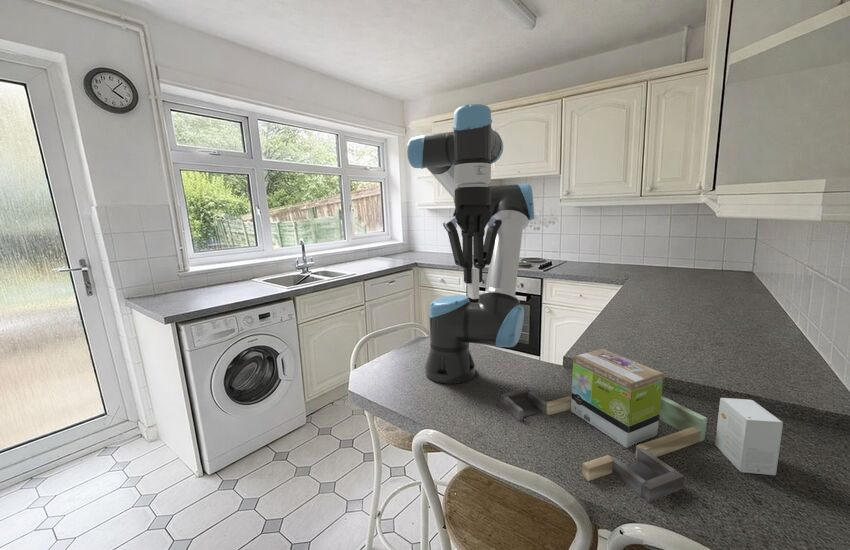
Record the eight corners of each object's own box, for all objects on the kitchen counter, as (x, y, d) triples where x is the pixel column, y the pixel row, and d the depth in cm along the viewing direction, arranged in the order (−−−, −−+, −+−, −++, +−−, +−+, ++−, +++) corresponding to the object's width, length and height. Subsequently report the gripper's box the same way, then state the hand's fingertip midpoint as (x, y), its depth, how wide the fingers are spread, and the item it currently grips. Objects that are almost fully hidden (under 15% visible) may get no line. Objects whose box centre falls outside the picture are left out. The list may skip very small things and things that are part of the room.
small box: (776, 476, 63) (785, 422, 61) (739, 473, 64) (747, 419, 62) (745, 447, 70) (752, 398, 69) (713, 444, 71) (719, 396, 70)
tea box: (568, 412, 84) (571, 354, 82) (599, 402, 88) (602, 346, 86) (627, 450, 71) (632, 381, 68) (659, 436, 75) (665, 371, 72)
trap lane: (500, 403, 89) (500, 385, 88) (596, 380, 99) (597, 364, 98) (621, 513, 56) (623, 486, 55) (746, 462, 66) (749, 438, 65)
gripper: (451, 185, 67) (453, 305, 72) (509, 185, 72) (508, 298, 76) (436, 188, 74) (439, 297, 79) (490, 187, 79) (490, 291, 83)
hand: (473, 297), depth 77 cm, fingers closed
